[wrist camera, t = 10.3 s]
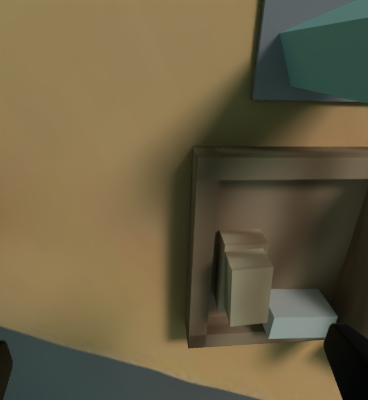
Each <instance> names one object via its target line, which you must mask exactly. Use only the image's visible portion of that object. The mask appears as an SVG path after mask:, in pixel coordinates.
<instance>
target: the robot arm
mask: <svg viewBox="0 0 368 400" xmlns="http://www.w3.org/2000/svg"><path fill="white" fill-rule="evenodd" d="M324 350H325V353H326V356H327V359H328V361H329V364H330V367H331V369H332V372H333V375H334V377H335V380H336V383H337V385H338V388H339V391H340V394H341V396H342V399H343V400H368V339H367V338H366V337H364V336H363V335H362V334H360V333H359V332H358V331H356V330H355V329H353V328H352V327H351V326H349V325H348V324H346V323H332V324H331V325H330V326H329V328H328V331H327V334H326V337H325V340H324ZM12 364H13V361H12V357H11V354H10V351H9V348H8V345H7V343H6V341H4V340H0V400H3V397H4V394H5V391H6V387H7V384H8V381H9V377H10V374H11V370H12Z"/></svg>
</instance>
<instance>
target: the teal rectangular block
mask: <svg viewBox="0 0 368 400" xmlns="http://www.w3.org/2000/svg"><path fill="white" fill-rule="evenodd" d="M280 38H281V42H282V47H283V52H284V57H285V61H286V66H287V71H288V76H289V80H290V85H291V86H292V87H296V88H301V89H305V90H310V91H314V92H319V93H323V94H327V95H332V96H336V97H341V98H345V99H350V100H354V101H359V102H363V103H368V0H355V1H352V2H350V3H348V4H346V5H343V6H341V7H339V8H336V9H334V10H332V11H329V12H327V13H325V14H322V15H320V16H318V17H315V18H313V19H311V20H309V21H306V22H304V23H302V24H299V25H297V26H295V27H292V28H290V29H288V30H285V31H283V32H281V33H280Z"/></svg>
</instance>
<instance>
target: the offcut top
mask: <svg viewBox="0 0 368 400" xmlns="http://www.w3.org/2000/svg"><path fill="white" fill-rule="evenodd" d="M273 268H274V267H273V265H272V263H271V262H270V260H269V258H268V256H267V255H266V253H265V251H264V249H263V248H261V249H250V250H239V251H227V252H225V277H224V307H225V311H226V314H227V318H228V321H229V325H230V327H233V326H242V325H251V324H261V323H267V321H268V312H269V303H270V294H271V285H272V276H273Z"/></svg>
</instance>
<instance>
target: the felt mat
mask: <svg viewBox="0 0 368 400" xmlns="http://www.w3.org/2000/svg"><path fill="white" fill-rule="evenodd" d="M352 1H355V0H263V4H262V13H261V21H260V29H259V38H258V46H257V54H256V63H255V71H254V79H253V88H252V96H251V99H252V100H284V101H340V102H359V101H354V100H350V99H345V98H341V97H336V96H332V95H327V94H323V93H319V92H314V91H310V90H305V89H301V88H296V87H292V86H291V85H290V80H289V76H288V71H287V66H286V61H285V57H284V52H283V47H282V42H281V38H280V33H281V32H283V31H285V30H288V29H290V28H292V27H295V26H297V25H299V24H302V23H304V22H306V21H309V20H311V19H313V18H315V17H318V16H320V15H322V14H325V13H327V12H329V11H332V10H334V9H336V8H339V7H341V6H343V5H346V4H348V3H350V2H352Z"/></svg>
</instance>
